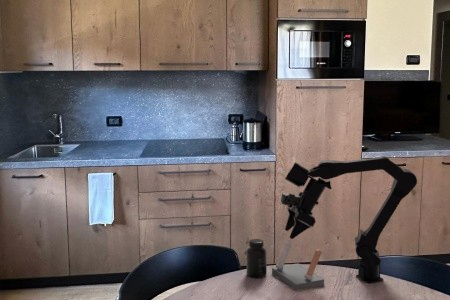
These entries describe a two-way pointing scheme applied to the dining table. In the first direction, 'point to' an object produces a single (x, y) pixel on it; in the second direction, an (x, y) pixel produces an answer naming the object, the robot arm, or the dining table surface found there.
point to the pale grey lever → (284, 255)
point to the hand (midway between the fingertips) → (288, 234)
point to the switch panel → (297, 277)
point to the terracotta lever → (313, 265)
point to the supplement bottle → (256, 259)
